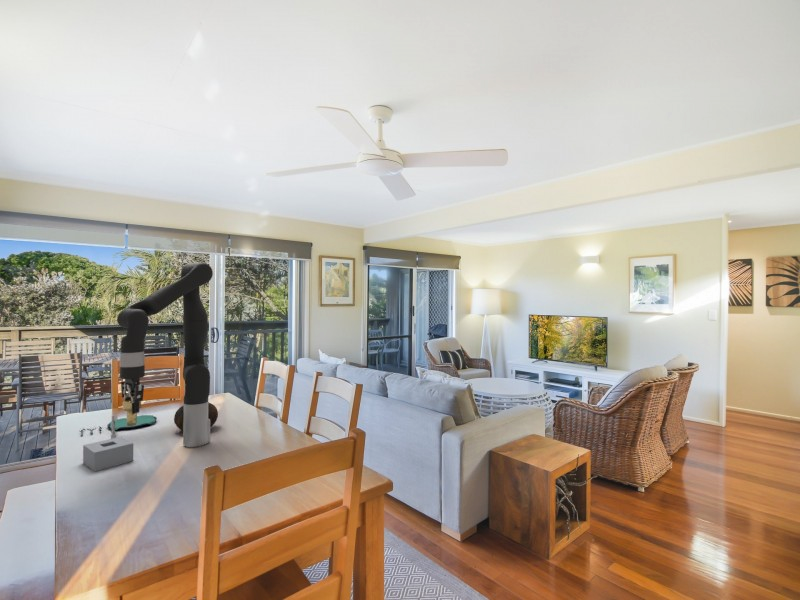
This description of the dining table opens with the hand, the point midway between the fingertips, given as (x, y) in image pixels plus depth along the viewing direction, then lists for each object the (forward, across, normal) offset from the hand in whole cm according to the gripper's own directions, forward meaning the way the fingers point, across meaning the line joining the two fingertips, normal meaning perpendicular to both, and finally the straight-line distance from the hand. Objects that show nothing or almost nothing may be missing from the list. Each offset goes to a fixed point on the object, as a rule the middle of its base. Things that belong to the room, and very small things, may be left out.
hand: (131, 411), depth 146 cm
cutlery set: (+20, +56, -16) cm, 62 cm away
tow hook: (+20, +30, -2) cm, 36 cm away
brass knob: (+5, 0, 0) cm, 5 cm away
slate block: (+19, +11, +4) cm, 23 cm away
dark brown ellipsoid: (+20, +22, -35) cm, 46 cm away
